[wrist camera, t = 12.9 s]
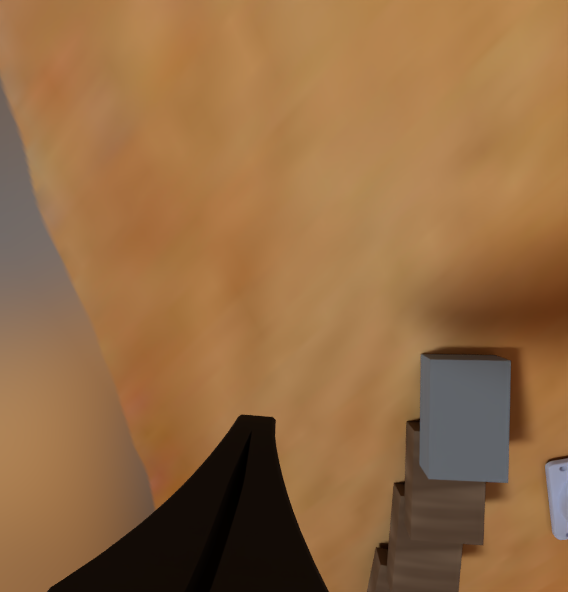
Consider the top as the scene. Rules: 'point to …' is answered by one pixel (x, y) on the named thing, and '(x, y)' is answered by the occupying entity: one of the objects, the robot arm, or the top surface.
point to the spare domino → (465, 417)
